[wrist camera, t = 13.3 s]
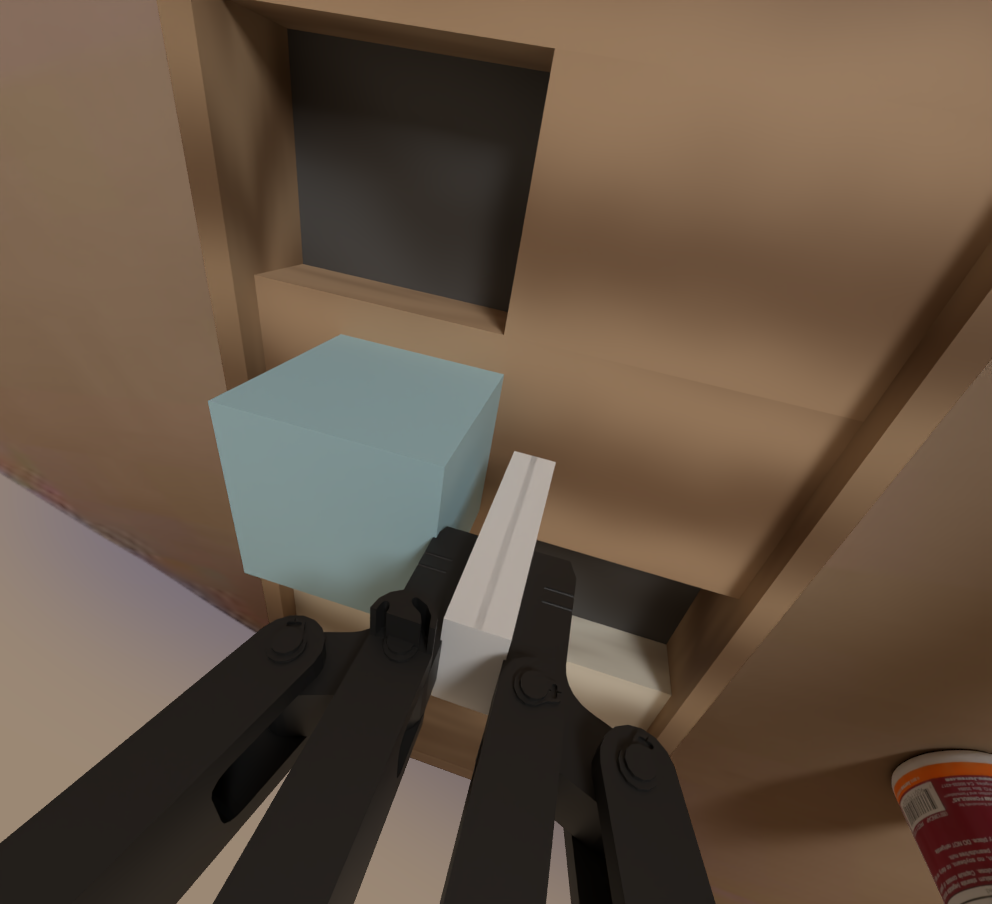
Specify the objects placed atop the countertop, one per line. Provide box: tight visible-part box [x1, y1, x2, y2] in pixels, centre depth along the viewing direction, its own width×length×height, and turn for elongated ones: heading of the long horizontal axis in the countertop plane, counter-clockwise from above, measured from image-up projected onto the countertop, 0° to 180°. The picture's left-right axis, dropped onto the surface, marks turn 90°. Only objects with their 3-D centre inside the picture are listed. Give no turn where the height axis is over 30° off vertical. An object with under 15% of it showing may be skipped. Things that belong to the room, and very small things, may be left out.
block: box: [208, 334, 504, 614], centre depth 14 cm, size 6×6×6 cm
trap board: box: [157, 0, 992, 780], centre depth 16 cm, size 37×22×6 cm, turn 170°
